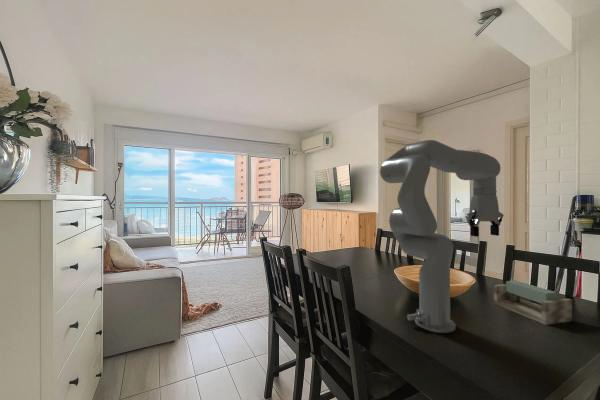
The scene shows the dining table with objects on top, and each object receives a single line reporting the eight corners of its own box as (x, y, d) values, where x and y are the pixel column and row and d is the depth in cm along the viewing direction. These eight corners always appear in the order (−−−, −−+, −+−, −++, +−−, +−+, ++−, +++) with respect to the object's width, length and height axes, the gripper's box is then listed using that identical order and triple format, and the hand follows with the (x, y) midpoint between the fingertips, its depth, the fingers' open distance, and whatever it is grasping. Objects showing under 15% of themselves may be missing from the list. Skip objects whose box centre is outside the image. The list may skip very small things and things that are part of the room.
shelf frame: (545, 324, 90) (545, 302, 90) (494, 303, 108) (494, 285, 108) (572, 320, 92) (572, 299, 92) (517, 300, 111) (517, 282, 111)
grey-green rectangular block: (506, 291, 106) (506, 281, 106) (515, 290, 108) (515, 280, 107) (545, 305, 93) (545, 293, 93) (556, 303, 94) (556, 292, 94)
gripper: (493, 193, 111) (493, 233, 111) (458, 193, 107) (458, 235, 107) (511, 192, 103) (511, 236, 103) (474, 192, 100) (474, 238, 100)
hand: (484, 235), depth 105 cm, fingers open, 9 cm apart
